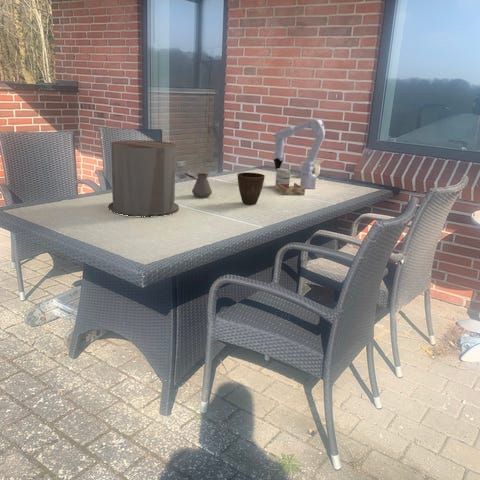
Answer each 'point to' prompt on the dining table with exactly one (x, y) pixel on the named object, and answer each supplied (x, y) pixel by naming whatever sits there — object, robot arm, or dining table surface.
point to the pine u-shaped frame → (291, 190)
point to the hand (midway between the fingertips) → (277, 170)
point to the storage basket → (143, 178)
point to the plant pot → (250, 187)
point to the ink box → (282, 177)
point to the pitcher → (315, 167)
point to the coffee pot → (201, 186)
